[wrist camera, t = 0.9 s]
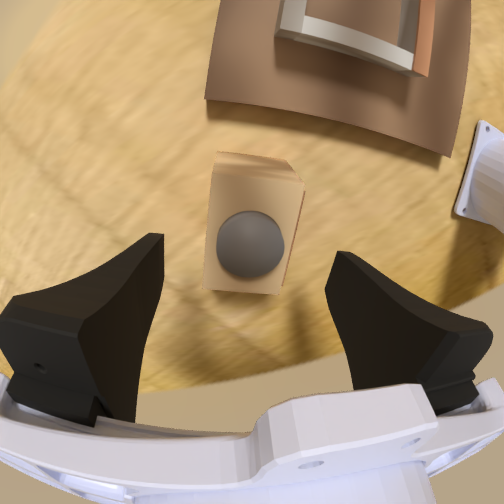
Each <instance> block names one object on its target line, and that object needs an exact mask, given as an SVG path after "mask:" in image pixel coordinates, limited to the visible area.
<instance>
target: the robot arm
mask: <svg viewBox="0 0 504 504" xmlns="http://www.w3.org/2000/svg"><path fill="white" fill-rule="evenodd" d="M463 209H464V210H463ZM454 212H455V213H456V214H457V215H460V216H463V217H467V218H470V219H473V220H477V221H480V222H483V223H487V224H490V225H493V226H494V227H495V228H497V229H498V230H499V231H501V232H502V233H503V234H504V134H503V133H502V132H501V131H499V130H498V129H496V128H495V127H493V126H492V125H490V124H489V123H487V122H486V121H483V120H479V122H478V125H477V129H476V134H475V138H474V143H473V147H472V151H471V155H470V159H469V162H468V166H467V169H466V173H465V176H464V180H463V183H462V186H461V189H460V192H459V195H458V198H457V201H456V204H455V207H454ZM163 281H164V234H158V233H148V234H147V235H145V236H144V237H142V238H141V239H140V240H138V241H137V242H135V243H134V244H133V245H131V246H130V247H129V248H127V249H126V250H124V251H123V252H122V253H120V254H118V255H117V256H115V257H114V258H112V259H111V260H109V261H108V262H106V263H104V264H103V265H101V266H99V267H97V268H96V269H94V270H92V271H90V272H88V273H86V274H84V275H81V276H79V277H77V278H74V279H72V280H69V281H67V282H65V283H62V284H59V285H56V286H53V287H50V288H46V289H43V290H39V291H35V292H31V293H26V294H21V295H16V296H13V297H12V299H11V300H10V302H9V303H8V304H7V306H6V307H5V309H4V310H3V311H2V313H1V314H0V349H1V350H2V352H3V354H4V356H5V357H6V359H7V361H8V362H9V364H10V366H11V367H12V369H13V370H14V374H13V376H12V378H11V380H10V378H8V377H7V376H6V375H5V374H3V373H1V372H0V461H2V462H4V463H6V464H7V465H10V466H11V467H13V468H15V469H17V470H19V471H21V472H23V473H25V474H27V475H29V476H31V477H33V478H35V479H38V480H40V481H42V482H44V483H47V484H49V485H51V486H54V487H56V488H58V489H61V490H63V491H66V492H68V493H71V494H74V495H77V496H79V497H82V498H85V499H88V500H91V501H94V502H98V503H101V504H437V503H436V500H435V496H434V493H433V490H432V487H431V484H430V481H429V478H430V477H432V476H434V475H436V474H438V473H440V472H442V471H444V470H446V469H448V468H450V467H452V466H454V465H455V464H457V463H459V462H461V461H463V460H464V459H466V458H468V457H470V456H472V455H473V454H475V453H477V452H478V451H480V450H482V449H483V448H484V447H485V446H487V445H488V444H489V443H491V442H492V441H493V440H494V439H496V438H497V437H498V436H499V435H500V434H501V433H503V432H504V393H503V391H502V389H501V387H500V386H499V384H498V382H497V381H496V379H495V378H494V377H493V378H490V379H487V380H485V381H482V382H480V383H478V384H477V385H476V386H475V385H474V384H473V382H472V380H474V379H475V374H474V372H473V371H472V370H473V369H474V368H475V367H476V365H477V364H478V363H479V362H480V360H481V359H482V358H483V357H484V355H485V354H486V352H487V351H488V349H489V348H490V346H491V344H492V340H493V332H492V331H491V330H490V329H489V327H488V326H487V325H486V324H485V323H484V322H481V321H477V320H474V319H471V318H467V317H464V316H460V315H458V314H455V313H453V312H450V311H447V310H445V309H442V308H440V307H438V306H436V305H434V304H432V303H430V302H427V301H426V300H424V299H422V298H420V297H418V296H416V295H415V294H413V293H411V292H409V291H408V290H406V289H404V288H403V287H401V286H400V285H398V284H397V283H395V282H394V281H392V280H391V279H389V278H388V277H387V276H385V275H384V274H382V273H381V272H380V271H378V270H377V269H375V268H374V267H373V266H371V265H370V264H368V263H367V262H366V261H364V260H363V259H361V258H360V257H358V256H356V255H355V254H353V253H351V252H345V251H337V254H336V257H335V260H334V263H333V266H332V269H331V272H330V275H329V278H328V281H327V284H326V286H325V294H326V299H327V303H328V307H329V310H330V313H331V315H332V318H333V321H334V323H335V326H336V328H337V331H338V333H339V336H340V339H341V341H342V344H343V347H344V349H345V353H346V356H347V360H348V364H349V368H350V372H351V378H352V383H353V389H354V390H353V391H343V392H332V393H318V394H311V395H306V396H300V397H295V398H290V399H288V400H285V401H283V402H281V403H278V404H276V405H274V406H271V407H270V408H269V409H268V410H267V411H266V412H265V413H264V414H263V415H262V416H261V417H260V418H259V419H258V420H257V421H256V424H255V427H254V429H253V431H252V432H245V433H231V432H228V433H227V432H206V431H193V430H182V429H173V428H172V429H171V428H164V427H157V426H150V425H143V424H137V423H135V417H136V405H137V395H138V386H139V378H140V371H141V365H142V359H143V353H144V348H145V344H146V340H147V336H148V333H149V330H150V327H151V324H152V321H153V318H154V315H155V312H156V309H157V306H158V303H159V300H160V296H161V291H162V287H163Z"/></svg>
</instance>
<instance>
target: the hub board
mask: <svg viewBox="0 0 504 504" xmlns="http://www.w3.org/2000/svg"><path fill="white" fill-rule="evenodd" d="M470 34H471V0H221V2H220V7H219V12H218V17H217V22H216V27H215V33H214V38H213V44H212V50H211V56H210V62H209V69H208V75H207V82H206V89H205V96H204V99H207V100H218V101H228V102H236V103H244V104H252V105H259V106H266V107H272V108H278V109H284V110H289V111H294V112H300V113H304V114H309V115H314V116H319V117H323V118H327V119H332V120H336V121H340V122H344V123H347V124H351V125H355V126H359V127H362V128H366V129H369V130H373V131H376V132H379V133H382V134H386V135H389V136H392V137H395V138H398V139H401V140H404V141H407V142H410V143H412V144H415V145H418V146H421V147H423V148H426V149H429V150H431V151H434V152H436V153H439V154H441V155H444V156H446V157H449V158H451V154H452V150H453V146H454V142H455V138H456V133H457V129H458V124H459V119H460V114H461V109H462V104H463V98H464V92H465V85H466V78H467V70H468V61H469V50H470Z"/></svg>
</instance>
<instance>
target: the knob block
mask: <svg viewBox="0 0 504 504" xmlns="http://www.w3.org/2000/svg"><path fill="white" fill-rule="evenodd" d="M304 188H305V184H304V183H303V181H302V180H301V179H300V177H299V176H298V175H297V174H296V172H295V171H294V170H293V169H292V167H291V166H290V165H289V164H288V162H287V161H286V160H282V159H276V158H269V157H262V156H254V155H247V154H238V153H230V152H220V151H217V155H216V159H215V163H214V167H213V172H212V179H211V189H210V199H209V209H208V220H207V231H206V243H205V256H204V270H203V285H202V289H210V290H221V291H233V292H246V293H260V294H274V295H279V293H280V289H281V286H283V283H284V279H285V275H286V271H287V267H288V263H289V259H290V255H291V251H292V247H293V243H294V238H295V234H296V230H297V226H298V221H299V217H300V213H301V209H302V204H303V200H304V195H305V191H304Z"/></svg>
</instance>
